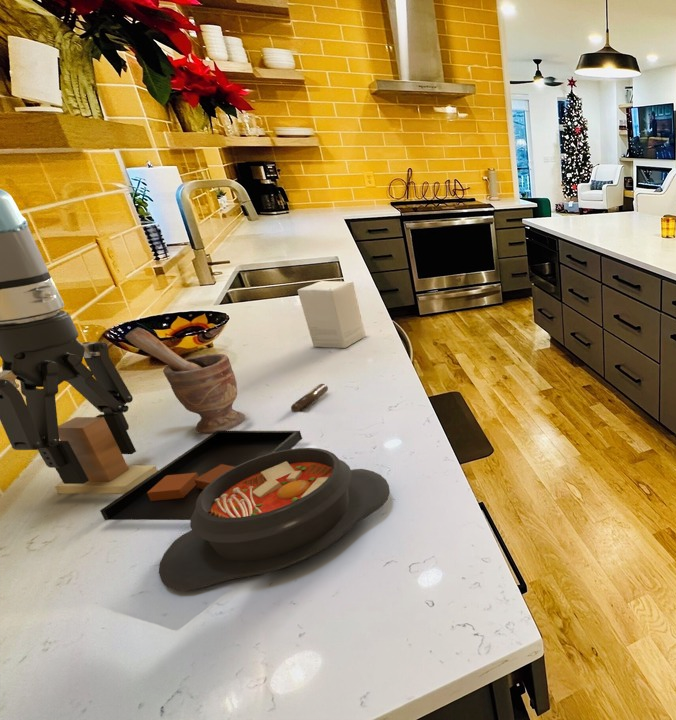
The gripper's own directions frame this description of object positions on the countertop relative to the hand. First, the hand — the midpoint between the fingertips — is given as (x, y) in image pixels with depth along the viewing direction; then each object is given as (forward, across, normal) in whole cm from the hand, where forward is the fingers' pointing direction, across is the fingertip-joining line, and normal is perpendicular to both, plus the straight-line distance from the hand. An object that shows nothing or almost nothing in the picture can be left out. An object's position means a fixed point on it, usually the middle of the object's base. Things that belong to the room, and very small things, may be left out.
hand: (101, 466), depth 73 cm
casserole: (+4, -9, -32) cm, 34 cm away
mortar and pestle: (+4, +16, -2) cm, 17 cm away
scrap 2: (+3, 0, -16) cm, 17 cm away
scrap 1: (+3, -2, -12) cm, 12 cm away
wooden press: (+4, 0, 0) cm, 4 cm away
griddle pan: (+4, +11, -14) cm, 19 cm away
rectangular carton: (+4, +60, -1) cm, 60 cm away
